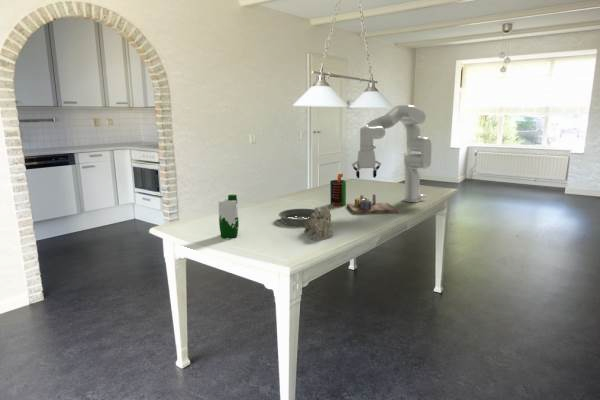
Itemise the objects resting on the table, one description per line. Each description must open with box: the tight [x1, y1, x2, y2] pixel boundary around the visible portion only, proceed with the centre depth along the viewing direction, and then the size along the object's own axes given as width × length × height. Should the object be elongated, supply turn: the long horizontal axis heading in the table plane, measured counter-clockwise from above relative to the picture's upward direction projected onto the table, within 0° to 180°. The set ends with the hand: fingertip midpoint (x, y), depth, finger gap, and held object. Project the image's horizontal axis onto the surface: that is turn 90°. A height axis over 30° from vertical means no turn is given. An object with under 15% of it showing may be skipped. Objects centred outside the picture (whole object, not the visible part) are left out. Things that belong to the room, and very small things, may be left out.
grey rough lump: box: [303, 204, 334, 241], centre depth 197 cm, size 16×16×15 cm
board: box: [346, 194, 398, 215], centre depth 249 cm, size 26×20×8 cm
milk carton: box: [218, 194, 239, 239], centre depth 196 cm, size 9×9×20 cm
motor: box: [329, 173, 347, 207], centre depth 264 cm, size 10×9×20 cm
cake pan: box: [278, 208, 321, 227], centre depth 225 cm, size 25×25×4 cm
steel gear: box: [360, 199, 372, 210], centre depth 244 cm, size 7×7×4 cm
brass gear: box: [354, 197, 370, 207], centre depth 253 cm, size 9×9×4 cm
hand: (366, 177), depth 241 cm, fingers open, 9 cm apart
